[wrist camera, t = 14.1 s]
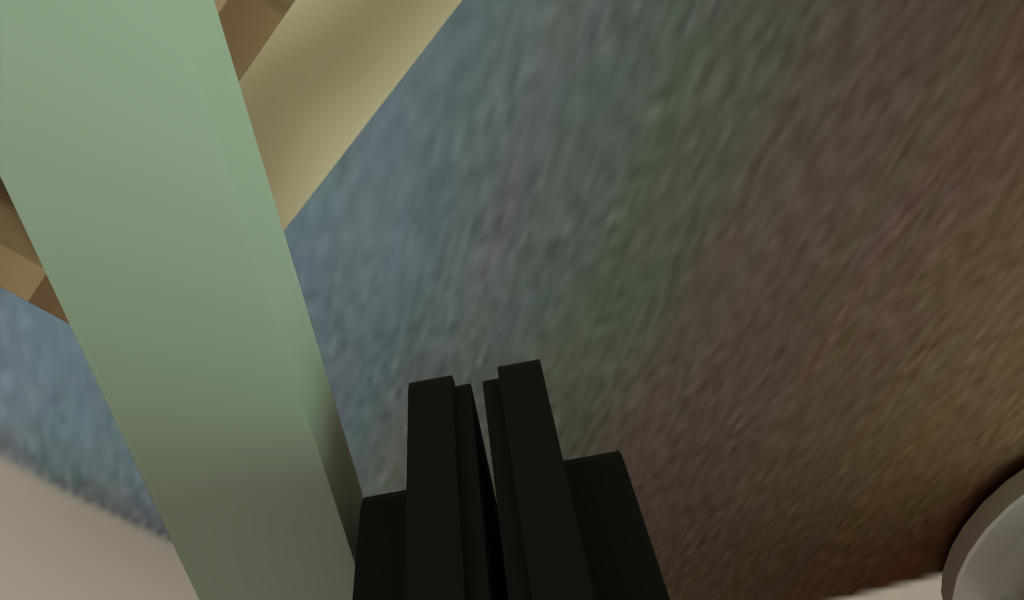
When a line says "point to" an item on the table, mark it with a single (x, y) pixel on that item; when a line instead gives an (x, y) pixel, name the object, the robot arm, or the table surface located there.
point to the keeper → (180, 286)
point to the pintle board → (284, 99)
